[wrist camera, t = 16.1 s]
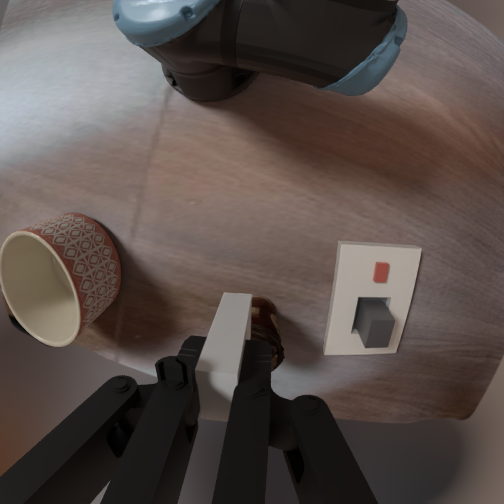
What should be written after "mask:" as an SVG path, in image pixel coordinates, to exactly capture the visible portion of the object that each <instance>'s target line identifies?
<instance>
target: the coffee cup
mask: <svg viewBox="0 0 504 504" xmlns="http://www.w3.org/2000/svg"><path fill="white" fill-rule="evenodd" d="M250 340H262V341H268V342H269V344H270V345H271V347H272V360H271V372H272V371H274V370H275V369H276V368H277V367H278V366H279V365H280V364H281V363H282V361H283V359H284V358H285V357H284V352H283V351H284V348H283V347H282V345H281V337H280V332H279V328H278V323H277V318H276V316H275V309H274V307H273V304H272V303H271V302H270V301H269V300H268V299H267V298H265V297H261V296H252V304H251V337H250Z"/></svg>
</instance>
